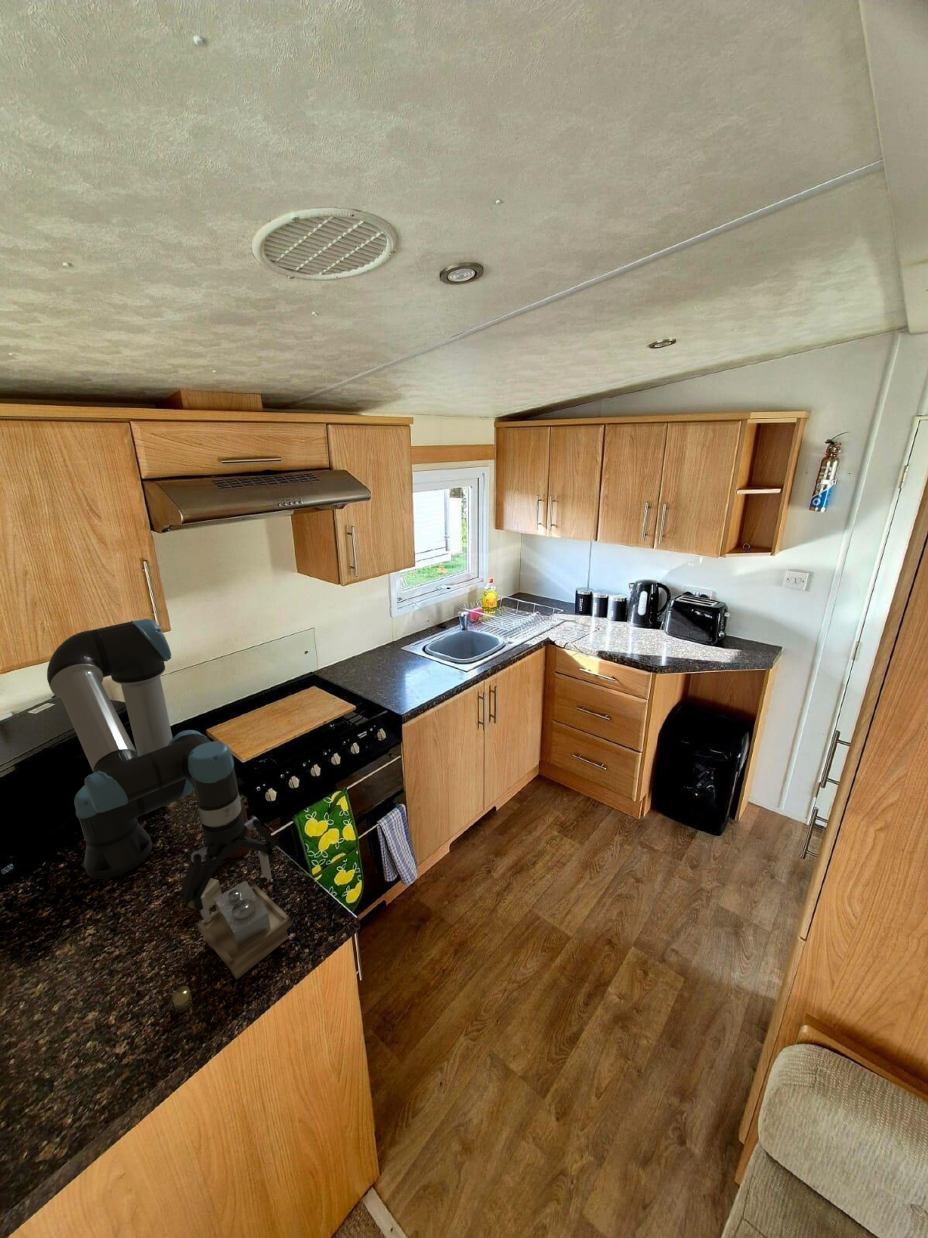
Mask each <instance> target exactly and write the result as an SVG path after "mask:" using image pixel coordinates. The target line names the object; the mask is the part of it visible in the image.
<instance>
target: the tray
mask: <svg viewBox="0 0 928 1238" xmlns="http://www.w3.org/2000/svg"><path fill="white" fill-rule="evenodd" d="M250 887H251V889H252V890H253V892H254V893H255V895H256V896H257V898H258V899H259V900H260V902H261V903H262V905H263V906H264V908H265V909H266V911H267V912H268V916H269V921H270V927H271V930H270V931H269V932H268V933H266V934H265V935H263V936H262V937H260V938H259V939H257V940H256V941H254V942H253V943H251V944H250V945H248V946H247V947H245V948H243V949H242V950H240V951H239V952H238V950H237V948H236V947H235V945H234V943H233V942H232V940H231V938H230V936H229V935H228V933H227V931H226V929H225V928H224V926H223V924H222V922H221V921H220V919H219V917H218V914H217V910H215V911H213V912H212V913H210V917H211V921H209V922H208V923H207V922H206V920H205V919H204V918H203V919H202V920H200V921H198V923H196V925H197V929H198V931H199V933H200V934H201V935H202V936H203V938H204V939H205V940H206V943H207V945H208V946H209V948H210V949H213V950H214V951H215V953H216V954H217V956H219V957H220V959H221V960H222V961H223V962H224V964H225V965H226V966H227V967H228V968H229V970H230V972H231V974H232V976H233V977H234V979H235V980H236V981H238V980H239V979H240V978H241V977H242V976H244V975H245V974H246V973H247V972H248V971H250V970H251V969H252V968H253V967H254V966H256V965H257V964H258V963H260V962H261V961H262V960H263V959H264V958H266V957H267V956H269V954H271V953H272V952H273V951H274V950H276V949H277V948H278V947H279V946H281V944H283V943H284V942H285V941H286V940H288V939H289V934H288V929H289V928H290V927H291V926H292V925H293V924H292V921H291V920H292V919H291V917H289V915H288V914H286V912H284V910H283V909H282V908H281V907H279V906H278V905H277V904H276V903H275V902H274V900H272V899H271V898H270V897H269V896H268V895H267V894H266V893H265V892H264V891H263V890H262V889H261V888H260V887H258V885H257V884H255V883H254V884H253V885H251V886H250Z"/></svg>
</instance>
